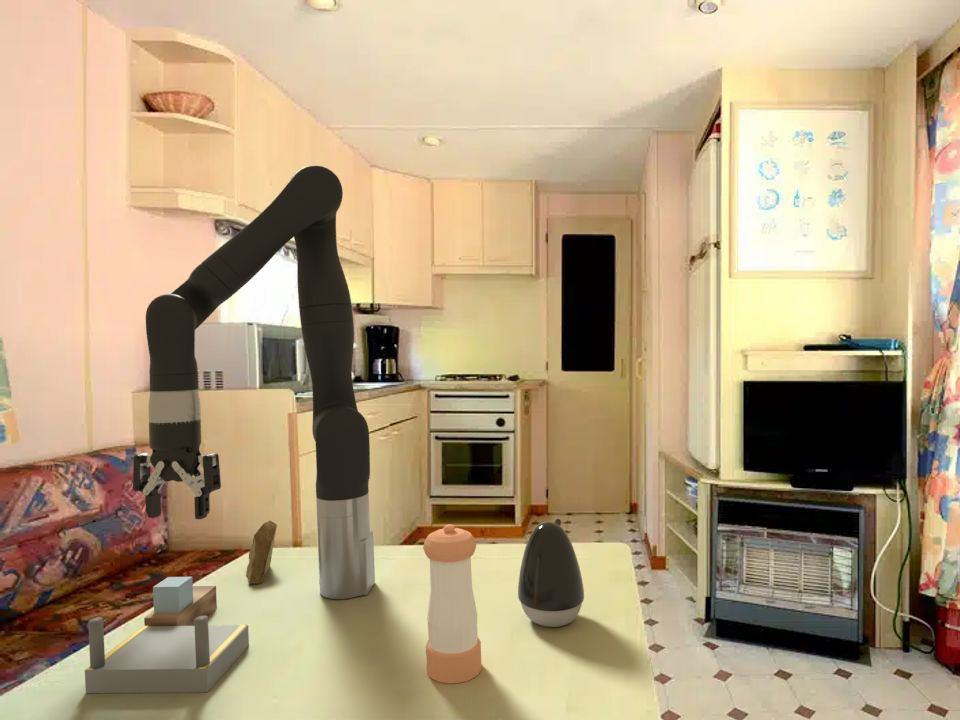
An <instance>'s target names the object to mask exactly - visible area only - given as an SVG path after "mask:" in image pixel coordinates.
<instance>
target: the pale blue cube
mask: <svg viewBox="0 0 960 720" xmlns="http://www.w3.org/2000/svg"><path fill="white" fill-rule="evenodd" d="M193 581H194V580H193V576H167V577H166V578H164V579H163V580H162V581H160V582H158V583H157V584H156V585H154V586H153V587H152V594H153V596H152V598H153V611H154V613H180V612H181V611H182V610H183V609H185V608H186V607H187V606H188V605H190V604H191V603H192V602H193V586H194V585H193Z"/></svg>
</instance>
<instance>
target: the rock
mask: <svg viewBox="0 0 960 720" xmlns="http://www.w3.org/2000/svg"><path fill="white" fill-rule="evenodd" d="M277 528H278V524H277V523H276V522H273V521H272V520H268V521H266V522H263V523H262V525H261V526H260V528H258V529H257V531H256V533H254V534H253V537H252V543H251V545H250V549H249V552H248V564H247V567H246V571H245V573H246V576H247V579H248V584H249V585H251V584H254V585H255V584H257V585H258V584H262V583H263V580H264V578H265V575H267V573H268V571H269V569H270V568H271V565H272V563H271V562H272V558H273V557H272V556H273V550H274V543H275V538H276V534H277V533H276V532H277Z"/></svg>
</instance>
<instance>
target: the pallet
mask: <svg viewBox="0 0 960 720" xmlns="http://www.w3.org/2000/svg"><path fill="white" fill-rule="evenodd" d="M217 603H218V602H217V586H216V585H193V602H192V603H191V604H190V605H188V606H187V607H186V608H185V609H183V610H182V611H181V612H180V613H154V610H153V611H152V612H150V613H149V614H148V615H146V616H145V617H144V618H143V622H144V624H143V626H194V619H195V618H196V617H199V616H208V617H209V615H211V614H212V613H213V612H214V611H215V610H216V609H217V608H218V604H217Z"/></svg>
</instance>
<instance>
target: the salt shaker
mask: <svg viewBox="0 0 960 720" xmlns="http://www.w3.org/2000/svg"><path fill="white" fill-rule="evenodd" d="M476 548H477V541H476V539H475V537H474V535H472V533H471V532H470V531H468V530H466V529H463V528H458V527H455V524H450V523H449V524H448V523H447V524H446V525H445V524H444V526H443V528H441V529H440V528H439V529H437V530H435V531H433V532H431V533H429V534H428V535H427V537H426V538H425V541H424V542H423V547H422V549H423V551H424V555H426V558H427V559H429V571H430V572H429V575H430V579H429V580H430V583H429V585H430V592H429V601H428V610H427V619H426V621H427V634H428V639H427V642H426V645H425V655H426V656H425V657H426V658H425V659H426V660H425V661H426V672H427V675H428V676H429V677H430V679H432V680H434V681H436V682H438V683H442V684H459V683H465V682H468V681H471V680H474V678H475V677H478V675H479V674H480V672H481V671H482V666H483V665H482V647H481V646H482V645H481V643H482V642H481V639H480V638H479V636H478V611H477V606H476V601H475V595H474V590H473V581H472V580H473V578H472V556H473V555H474V554H475V551H476Z"/></svg>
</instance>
